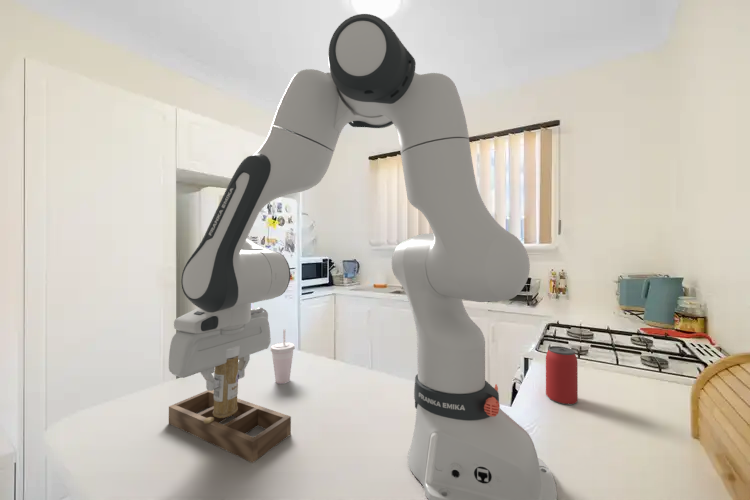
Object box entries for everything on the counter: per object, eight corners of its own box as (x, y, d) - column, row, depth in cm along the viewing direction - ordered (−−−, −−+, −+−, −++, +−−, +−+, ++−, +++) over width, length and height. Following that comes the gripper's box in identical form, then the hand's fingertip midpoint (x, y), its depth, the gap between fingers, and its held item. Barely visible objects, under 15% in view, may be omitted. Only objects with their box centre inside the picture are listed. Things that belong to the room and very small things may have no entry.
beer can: (580, 398, 74) (580, 349, 74) (574, 409, 69) (574, 356, 69) (549, 390, 78) (549, 343, 78) (542, 399, 73) (542, 349, 73)
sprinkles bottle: (239, 415, 60) (241, 346, 60) (213, 421, 57) (215, 350, 57) (235, 404, 64) (237, 340, 64) (210, 410, 61) (213, 344, 61)
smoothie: (299, 379, 84) (299, 329, 85) (281, 388, 79) (281, 334, 79) (283, 374, 88) (284, 326, 88) (265, 382, 82) (265, 330, 83)
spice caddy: (290, 434, 59) (290, 414, 59) (250, 464, 51) (250, 441, 51) (209, 404, 71) (210, 387, 71) (166, 424, 62) (166, 405, 62)
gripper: (257, 305, 71) (256, 363, 71) (164, 322, 53) (162, 401, 53) (277, 307, 68) (276, 368, 68) (185, 326, 50) (184, 410, 50)
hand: (226, 383), depth 60 cm, fingers closed on sprinkles bottle, 4 cm apart
